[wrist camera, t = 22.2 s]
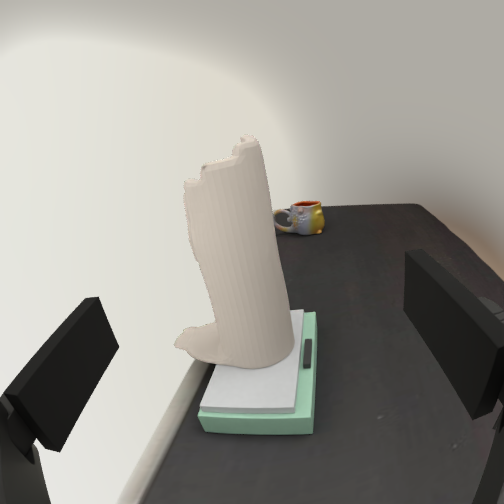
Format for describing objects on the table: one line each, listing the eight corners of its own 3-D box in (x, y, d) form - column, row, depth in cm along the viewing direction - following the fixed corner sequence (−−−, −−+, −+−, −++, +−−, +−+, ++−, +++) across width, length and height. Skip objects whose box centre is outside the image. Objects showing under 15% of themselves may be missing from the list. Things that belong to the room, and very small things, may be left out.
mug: (326, 225, 75) (322, 197, 73) (324, 234, 69) (320, 204, 67) (277, 229, 79) (272, 203, 77) (271, 239, 73) (266, 210, 71)
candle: (193, 320, 39) (148, 157, 32) (302, 327, 33) (270, 129, 27) (160, 354, 33) (100, 171, 26) (281, 373, 27) (235, 135, 21)
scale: (312, 434, 23) (310, 410, 22) (204, 432, 26) (194, 409, 25) (317, 328, 38) (314, 305, 37) (240, 333, 40) (235, 312, 39)
